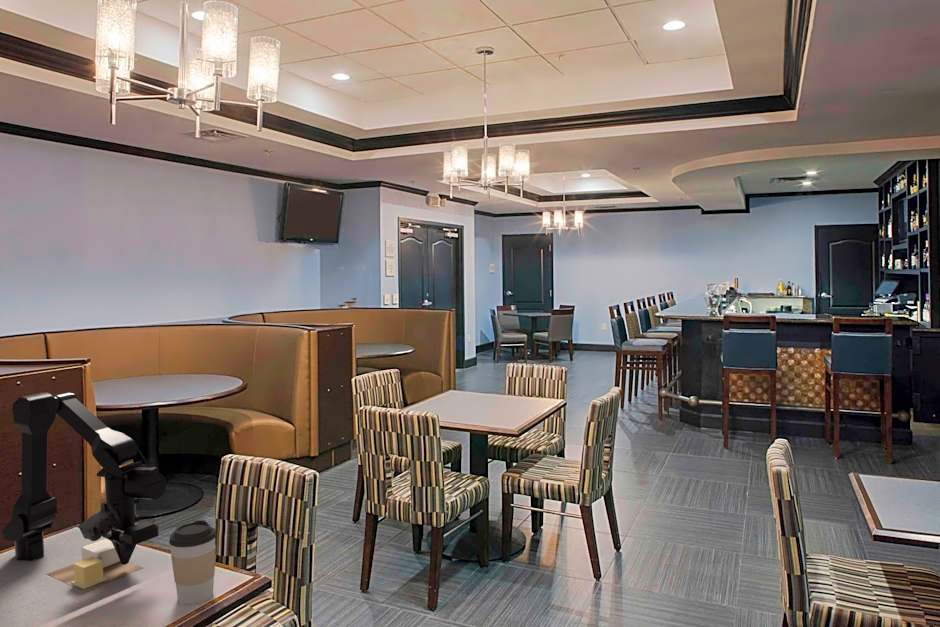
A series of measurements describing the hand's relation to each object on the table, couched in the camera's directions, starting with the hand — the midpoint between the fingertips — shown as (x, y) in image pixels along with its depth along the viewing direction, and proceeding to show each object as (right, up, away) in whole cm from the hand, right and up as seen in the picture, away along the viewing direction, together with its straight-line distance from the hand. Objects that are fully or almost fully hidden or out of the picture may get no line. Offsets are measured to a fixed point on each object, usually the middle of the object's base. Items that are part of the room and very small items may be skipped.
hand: (124, 564), depth 149 cm
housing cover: (-7, -1, +4) cm, 9 cm away
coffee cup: (+20, -3, -10) cm, 23 cm away
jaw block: (-5, -2, -5) cm, 7 cm away
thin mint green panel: (-5, -3, -5) cm, 8 cm away
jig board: (-7, -3, 0) cm, 7 cm away
